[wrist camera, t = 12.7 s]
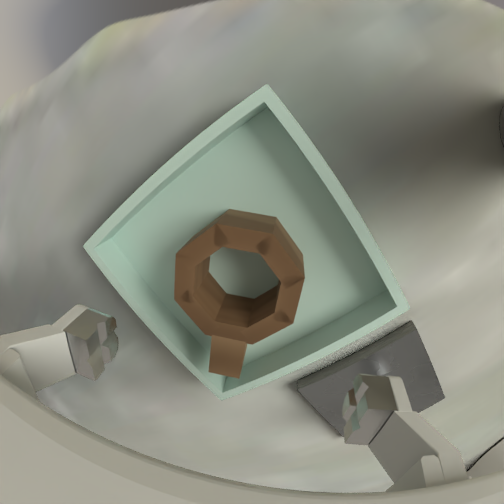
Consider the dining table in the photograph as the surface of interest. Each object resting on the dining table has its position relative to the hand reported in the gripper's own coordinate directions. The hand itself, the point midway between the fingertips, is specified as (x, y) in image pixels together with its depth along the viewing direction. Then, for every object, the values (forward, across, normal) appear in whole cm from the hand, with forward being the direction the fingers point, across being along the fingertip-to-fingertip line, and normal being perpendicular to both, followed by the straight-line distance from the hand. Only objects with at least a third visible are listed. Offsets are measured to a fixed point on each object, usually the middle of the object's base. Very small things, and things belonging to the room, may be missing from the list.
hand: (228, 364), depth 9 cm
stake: (+9, -10, +8) cm, 16 cm away
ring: (+8, +1, +1) cm, 8 cm away
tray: (+9, +1, 0) cm, 9 cm away
